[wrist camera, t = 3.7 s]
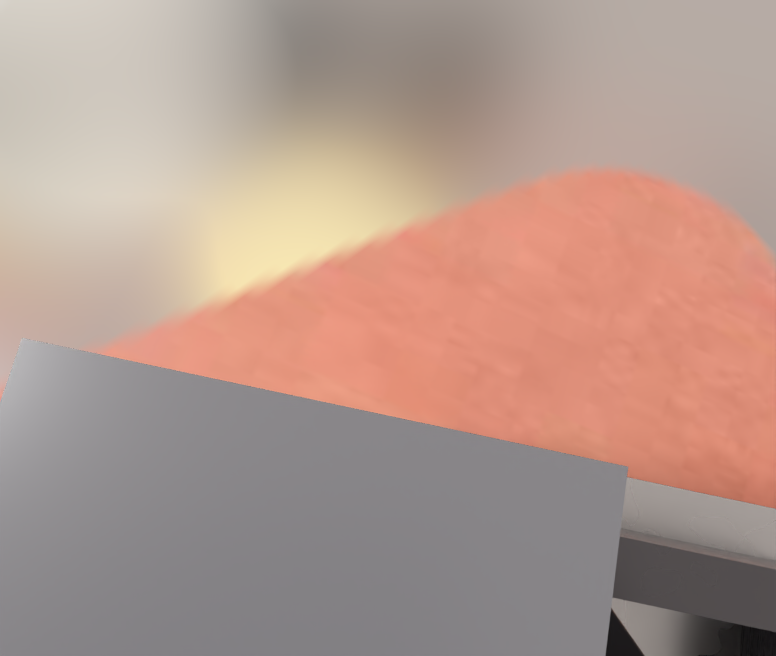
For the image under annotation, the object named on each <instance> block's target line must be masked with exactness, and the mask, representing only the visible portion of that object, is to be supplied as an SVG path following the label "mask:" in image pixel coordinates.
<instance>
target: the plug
mask: <svg viewBox="0 0 776 656" xmlns="http://www.w3.org/2000/svg"><path fill="white" fill-rule="evenodd" d="M627 472H628V467H627V466H622V465H617V464H613V463H608V462H603V461H598V460H594V459H589V458H584V457H580V456H575V455H570V454H566V453H561V452H556V451H551V450H547V449H542V448H537V447H533V446H528V445H523V444H519V443H514V442H509V441H504V440H500V439H495V438H490V437H486V436H481V435H476V434H472V433H467V432H462V431H457V430H453V429H448V428H443V427H439V426H434V425H429V424H425V423H420V422H415V421H410V420H406V419H401V418H396V417H392V416H387V415H382V414H378V413H373V412H368V411H363V410H359V409H354V408H349V407H345V406H340V405H335V404H331V403H326V402H321V401H316V400H312V399H307V398H302V397H298V396H293V395H288V394H283V393H279V392H274V391H269V390H265V389H260V388H255V387H251V386H246V385H241V384H236V383H232V382H227V381H222V380H218V379H213V378H208V377H204V376H199V375H194V374H189V373H185V372H180V371H175V370H171V369H166V368H161V367H157V366H152V365H147V364H142V363H138V362H133V361H128V360H124V359H119V358H114V357H110V356H105V355H100V354H95V353H91V352H86V351H81V350H77V349H72V348H67V347H63V346H58V345H53V344H48V343H44V342H39V341H34V340H30V339H25V338H22V340H21V343H20V346H19V349H18V352H17V355H16V357H15V360H14V363H13V366H12V369H11V372H10V375H9V378H8V381H7V384H6V387H5V389H4V392H3V395H2V398H1V401H0V656H605V655H606V647H607V639H608V630H609V622H610V614H611V605H612V597H613V589H614V580H615V572H616V564H617V556H618V547H619V539H620V531H621V522H622V514H623V506H624V497H625V489H626V481H627Z"/></svg>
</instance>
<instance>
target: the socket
mask: <svg viewBox="0 0 776 656" xmlns="http://www.w3.org/2000/svg"><path fill="white" fill-rule="evenodd" d="M611 608H612V609H613V611H614V612H615V614H616V615H617V617H618V618H619V619H620V621H621V622H622V624H623V625H624V627H625V628H626V629H627V631H628V632H629V634H630V635H631V637H632V638H633V639H634V641H635V642H636V644H637V645H638V647H639V648H640V649H641V651H642V652H643V654H644V655H645V656H776V509H774V508H769V507H765V506H760V505H755V504H751V503H746V502H741V501H737V500H732V499H727V498H722V497H718V496H713V495H708V494H704V493H699V492H694V491H690V490H685V489H680V488H675V487H671V486H666V485H661V484H657V483H652V482H647V481H642V480H638V479H633V478H628V477H627V481H626V489H625V497H624V506H623V514H622V522H621V531H620V539H619V547H618V556H617V564H616V572H615V580H614V589H613V597H612V605H611Z"/></svg>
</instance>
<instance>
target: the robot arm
mask: <svg viewBox="0 0 776 656" xmlns="http://www.w3.org/2000/svg"><path fill="white" fill-rule="evenodd" d="M605 656H645V655H644V654H643V652H642V651H641V649H640V648H639V647H638V645H637V644H636V642H635V641H634V639H633V638H632V637H631V635H630V634H629V632H628V631H627V629H626V628H625V627H624V625H623V624H622V622H621V621H620V619H619V618H618V617H617V615H616V614H615V612H614V611H613V609H612V608H611V614H610V622H609V630H608V639H607V647H606V655H605Z"/></svg>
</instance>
